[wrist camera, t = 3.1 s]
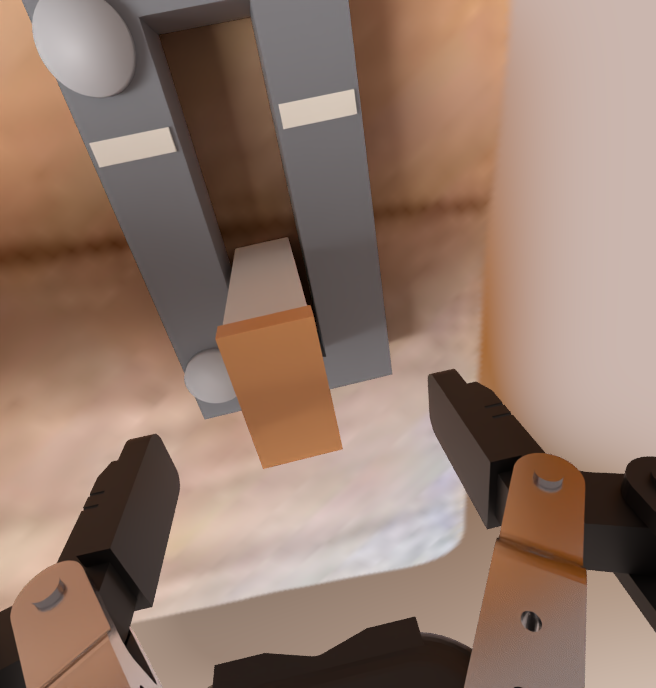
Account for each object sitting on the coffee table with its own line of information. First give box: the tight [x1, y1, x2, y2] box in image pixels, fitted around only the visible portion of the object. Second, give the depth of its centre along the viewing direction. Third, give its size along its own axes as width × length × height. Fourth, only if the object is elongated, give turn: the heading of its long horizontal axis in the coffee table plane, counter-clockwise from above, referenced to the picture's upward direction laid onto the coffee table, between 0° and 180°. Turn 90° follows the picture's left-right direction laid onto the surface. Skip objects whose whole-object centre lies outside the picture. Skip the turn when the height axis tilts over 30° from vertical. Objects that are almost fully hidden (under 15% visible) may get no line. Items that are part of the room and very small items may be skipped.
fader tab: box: [215, 237, 343, 469], centre depth 17 cm, size 3×5×10 cm, turn 10°
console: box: [22, 0, 392, 419], centre depth 17 cm, size 10×18×4 cm, turn 10°
